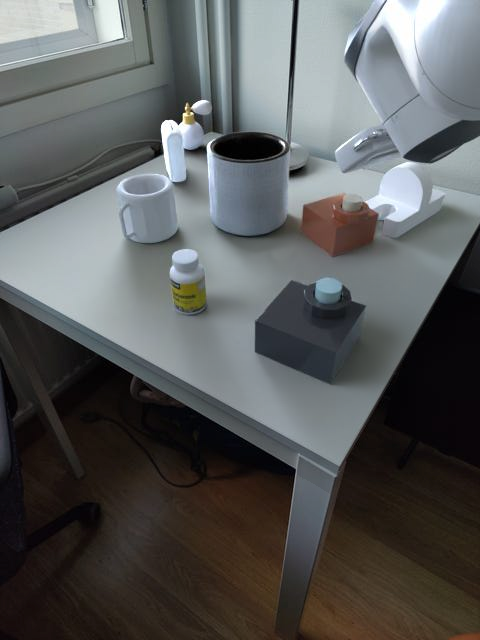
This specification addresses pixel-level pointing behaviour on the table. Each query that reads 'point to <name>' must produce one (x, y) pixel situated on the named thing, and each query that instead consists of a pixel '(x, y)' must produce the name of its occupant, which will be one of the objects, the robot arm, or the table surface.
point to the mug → (147, 208)
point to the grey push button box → (309, 330)
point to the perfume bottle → (193, 125)
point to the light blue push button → (328, 290)
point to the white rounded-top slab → (173, 151)
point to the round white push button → (352, 202)
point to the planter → (248, 182)
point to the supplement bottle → (188, 282)
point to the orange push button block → (338, 225)
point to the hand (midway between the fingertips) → (367, 164)
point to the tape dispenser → (405, 198)
